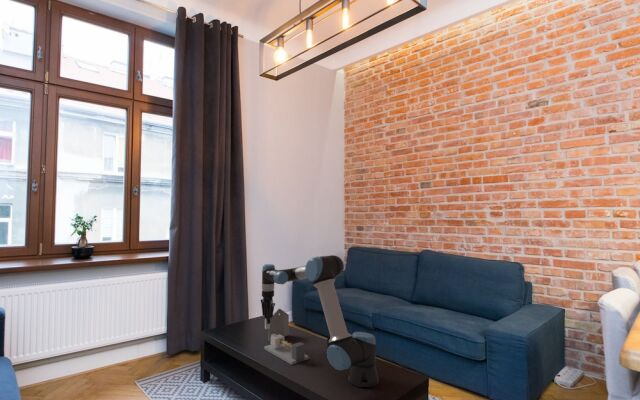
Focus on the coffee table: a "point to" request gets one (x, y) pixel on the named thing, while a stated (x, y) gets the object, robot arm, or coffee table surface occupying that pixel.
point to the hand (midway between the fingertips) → (267, 328)
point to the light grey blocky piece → (288, 351)
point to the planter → (279, 324)
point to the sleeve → (277, 340)
